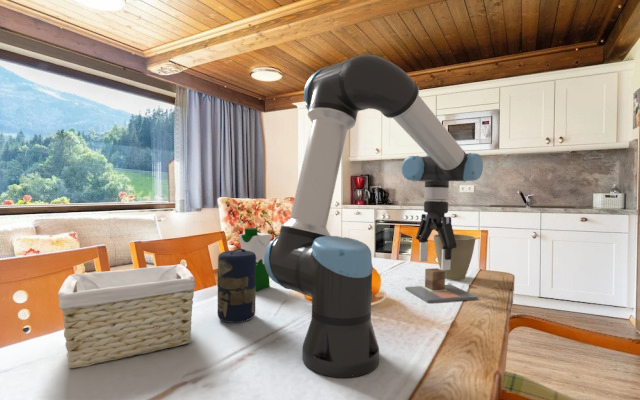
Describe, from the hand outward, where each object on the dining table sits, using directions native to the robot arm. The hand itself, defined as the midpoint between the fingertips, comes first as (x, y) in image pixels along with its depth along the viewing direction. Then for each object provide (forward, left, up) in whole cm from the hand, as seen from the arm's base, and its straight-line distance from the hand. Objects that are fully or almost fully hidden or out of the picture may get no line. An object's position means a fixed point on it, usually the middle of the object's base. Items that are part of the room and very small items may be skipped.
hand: (433, 265), depth 116 cm
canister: (-63, -12, -9) cm, 65 cm away
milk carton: (-57, +15, -9) cm, 60 cm away
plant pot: (+17, +14, -9) cm, 24 cm away
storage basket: (-85, -22, -9) cm, 88 cm away
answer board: (0, -3, -9) cm, 9 cm away
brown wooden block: (+1, 0, -8) cm, 8 cm away
